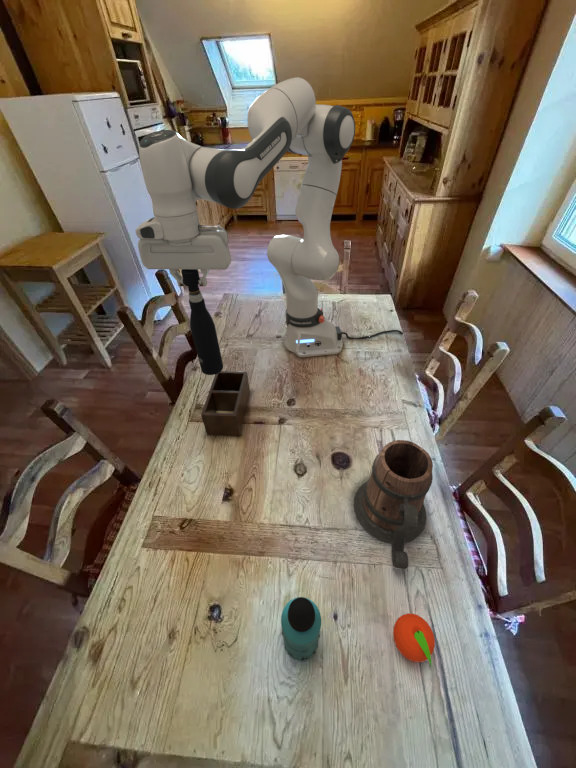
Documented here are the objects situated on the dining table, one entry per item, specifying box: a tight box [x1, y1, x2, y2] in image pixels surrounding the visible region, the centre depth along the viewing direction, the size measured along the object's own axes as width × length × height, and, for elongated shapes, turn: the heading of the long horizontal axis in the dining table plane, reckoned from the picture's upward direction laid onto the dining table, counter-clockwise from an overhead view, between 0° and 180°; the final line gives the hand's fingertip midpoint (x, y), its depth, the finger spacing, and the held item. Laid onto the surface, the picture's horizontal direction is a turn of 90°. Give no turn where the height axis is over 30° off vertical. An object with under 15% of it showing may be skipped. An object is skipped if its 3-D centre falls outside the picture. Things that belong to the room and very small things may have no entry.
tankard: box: [353, 439, 434, 570], centre depth 72 cm, size 24×17×20 cm
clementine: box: [392, 613, 436, 667], centre depth 60 cm, size 8×7×7 cm
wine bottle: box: [180, 269, 224, 376], centre depth 90 cm, size 6×6×30 cm
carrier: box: [200, 370, 251, 437], centre depth 103 cm, size 10×19×9 cm, turn 176°
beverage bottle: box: [280, 596, 322, 663], centre depth 56 cm, size 6×7×20 cm
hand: (192, 285), depth 82 cm, fingers closed on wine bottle, 4 cm apart
